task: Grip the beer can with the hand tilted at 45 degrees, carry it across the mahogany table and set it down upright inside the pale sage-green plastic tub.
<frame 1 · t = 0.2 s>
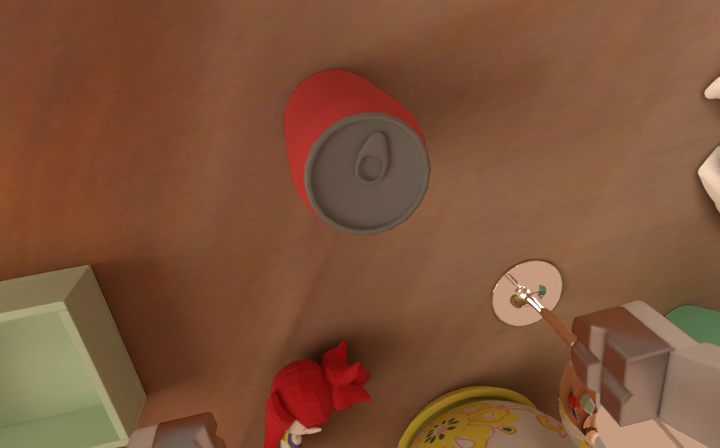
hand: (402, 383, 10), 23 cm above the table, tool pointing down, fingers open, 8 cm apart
wineglass: (525, 291, 40), on the table
flowerpot: (463, 433, 46), on the table
tub: (33, 353, 34), on the table
beer can: (333, 119, 31), on the table
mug: (676, 344, 46), on the table
figurine: (304, 397, 40), on the table
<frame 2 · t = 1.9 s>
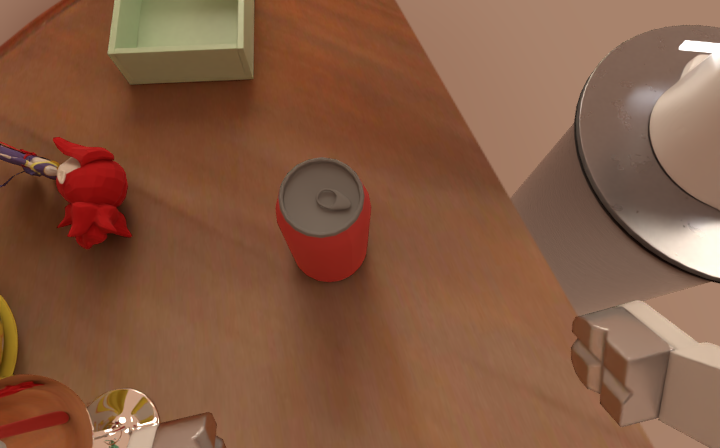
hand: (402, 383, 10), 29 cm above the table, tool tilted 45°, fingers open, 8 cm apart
wineglass: (120, 432, 37), on the table
tub: (195, 32, 49), on the table
beer can: (330, 247, 42), on the table
figurine: (75, 198, 43), on the table
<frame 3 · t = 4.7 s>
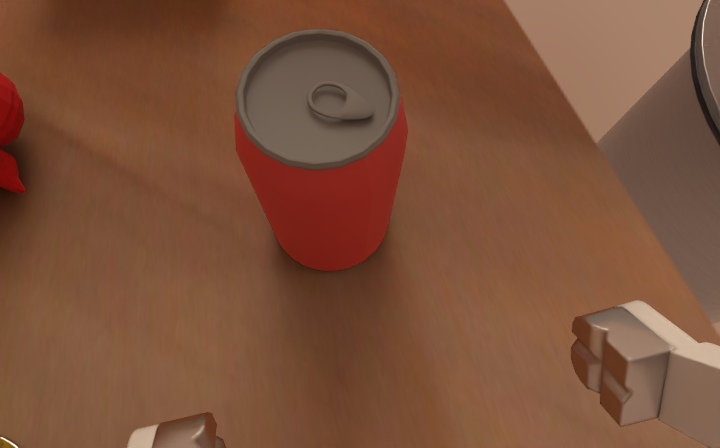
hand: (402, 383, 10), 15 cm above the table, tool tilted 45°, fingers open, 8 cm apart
beer can: (331, 219, 27), on the table
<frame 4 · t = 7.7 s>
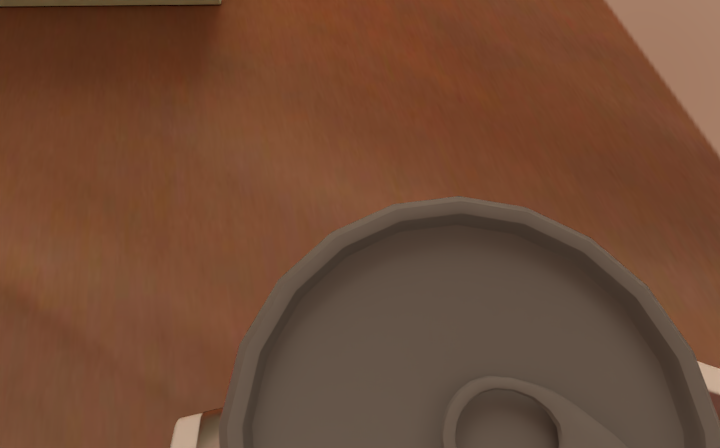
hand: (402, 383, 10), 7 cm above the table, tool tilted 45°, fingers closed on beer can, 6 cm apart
beer can: (387, 405, 17), on the table, touching gripper
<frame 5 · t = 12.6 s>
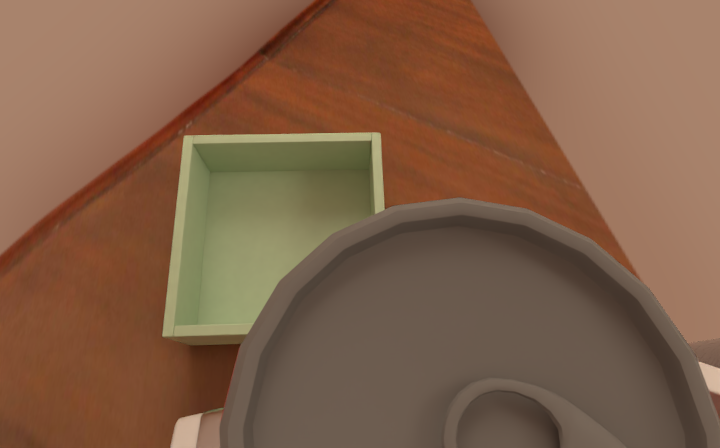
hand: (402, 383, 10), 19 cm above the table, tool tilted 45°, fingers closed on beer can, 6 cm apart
tub: (289, 249, 32), on the table
beer can: (387, 406, 17), point 13 cm above the table, touching gripper
when the fingers open (7 cm above the table, at t = 17.8 s): beer can stays where it is, resting on tub.
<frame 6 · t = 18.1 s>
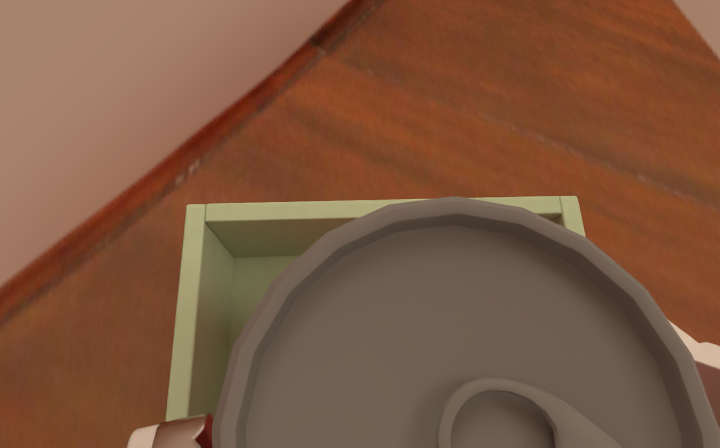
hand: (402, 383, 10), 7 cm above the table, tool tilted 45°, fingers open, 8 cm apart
tub: (384, 406, 17), on the table
beer can: (385, 406, 16), resting on tub
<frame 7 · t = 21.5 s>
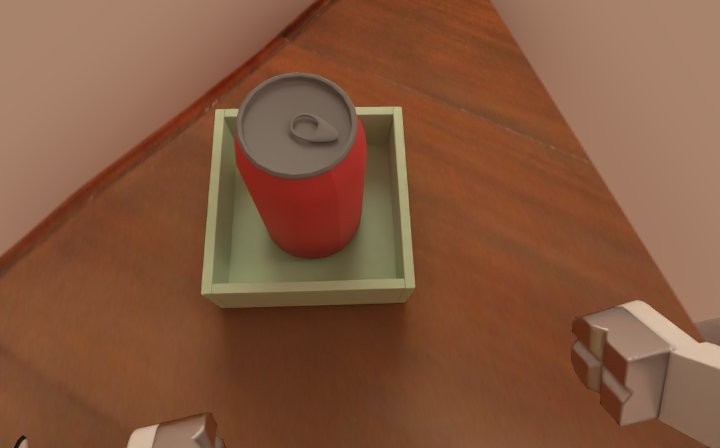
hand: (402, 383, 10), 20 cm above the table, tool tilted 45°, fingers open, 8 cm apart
tub: (313, 219, 33), on the table
beer can: (313, 217, 33), resting on tub
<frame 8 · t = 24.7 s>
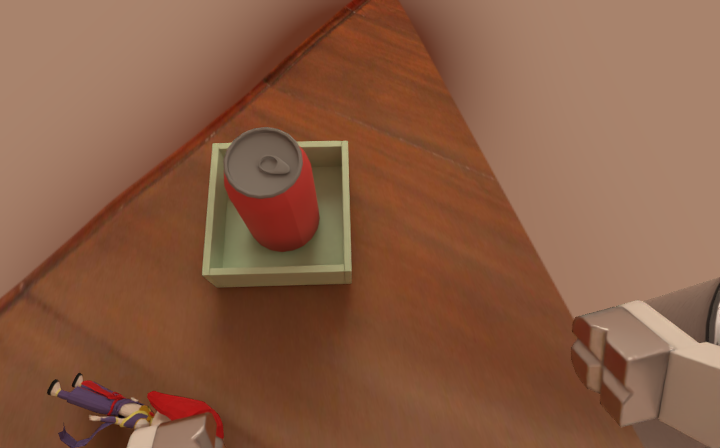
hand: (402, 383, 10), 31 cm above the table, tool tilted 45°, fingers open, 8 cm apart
tub: (285, 222, 45), on the table
beer can: (285, 221, 44), resting on tub
figurine: (159, 432, 39), on the table
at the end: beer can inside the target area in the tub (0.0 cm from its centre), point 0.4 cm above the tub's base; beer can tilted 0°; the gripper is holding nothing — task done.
